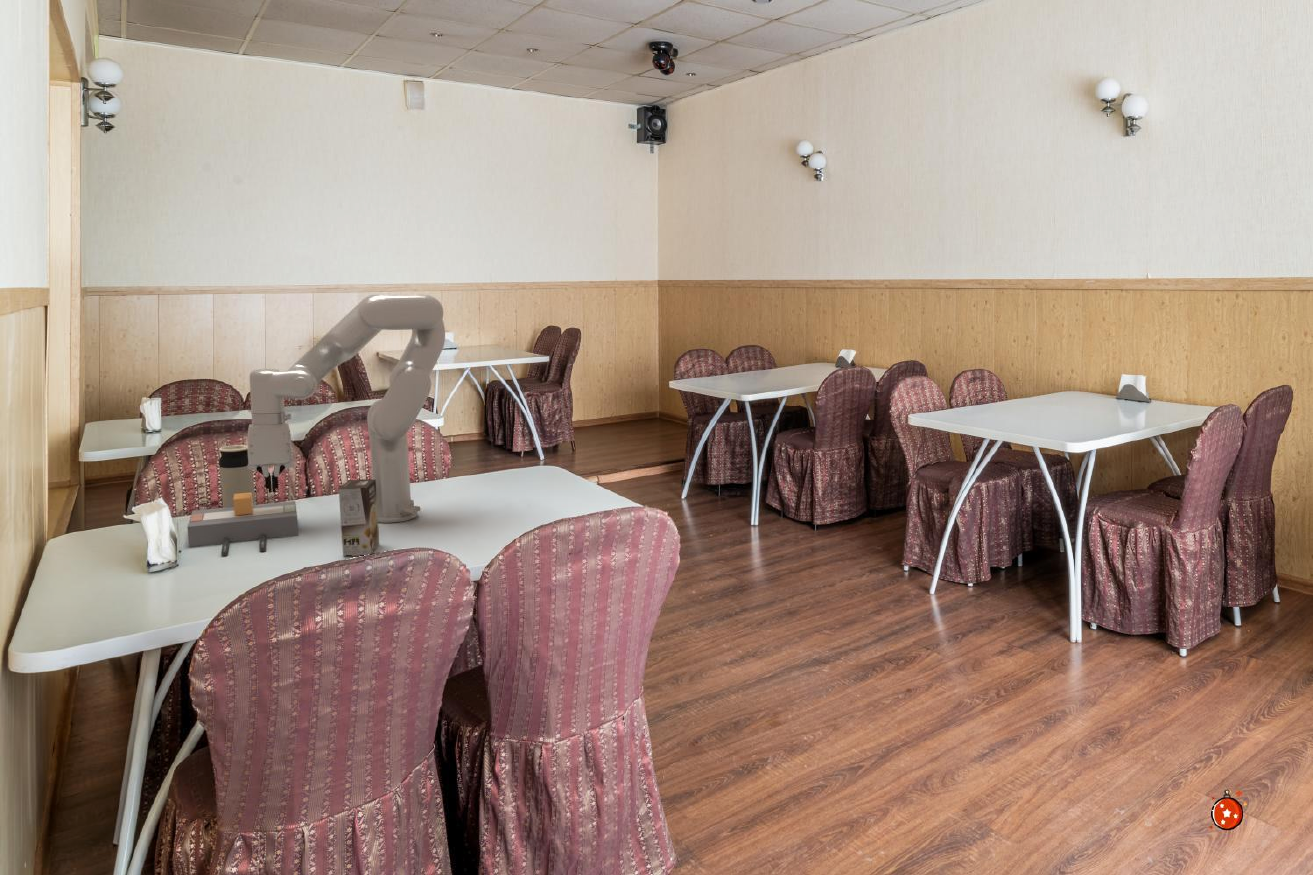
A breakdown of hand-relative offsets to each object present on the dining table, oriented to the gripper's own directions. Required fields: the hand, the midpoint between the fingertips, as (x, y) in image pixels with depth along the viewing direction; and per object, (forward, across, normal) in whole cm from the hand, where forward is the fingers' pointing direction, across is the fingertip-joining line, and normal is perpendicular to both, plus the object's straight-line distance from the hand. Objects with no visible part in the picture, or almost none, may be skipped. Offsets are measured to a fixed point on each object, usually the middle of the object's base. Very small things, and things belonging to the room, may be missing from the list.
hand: (272, 491), depth 220 cm
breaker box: (+10, +6, +6) cm, 13 cm away
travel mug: (+10, +8, -22) cm, 26 cm away
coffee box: (+10, -19, +27) cm, 34 cm away
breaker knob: (+5, +7, 0) cm, 8 cm away
